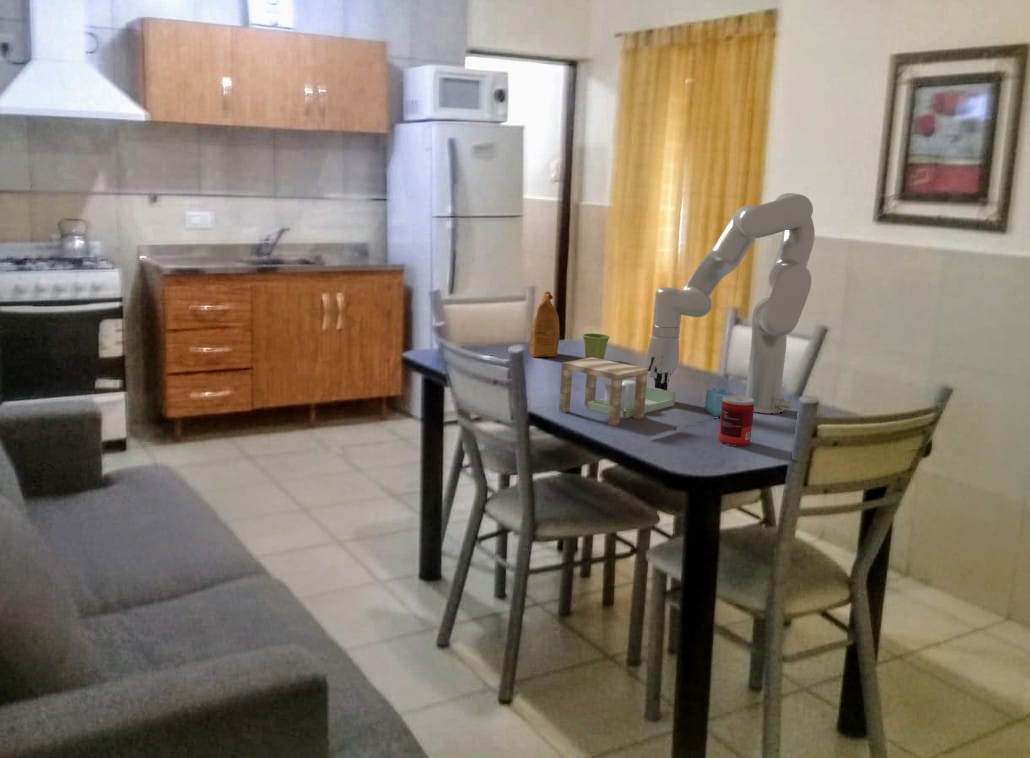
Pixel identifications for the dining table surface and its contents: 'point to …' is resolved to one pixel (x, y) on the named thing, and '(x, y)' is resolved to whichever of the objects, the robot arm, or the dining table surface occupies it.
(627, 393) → the white piece
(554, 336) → the coffee package
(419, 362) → the dining table surface
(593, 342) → the plant pot
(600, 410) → the tray
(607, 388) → the white rounded cylinder
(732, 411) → the canned food
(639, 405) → the miniature wooden table
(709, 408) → the teapot
